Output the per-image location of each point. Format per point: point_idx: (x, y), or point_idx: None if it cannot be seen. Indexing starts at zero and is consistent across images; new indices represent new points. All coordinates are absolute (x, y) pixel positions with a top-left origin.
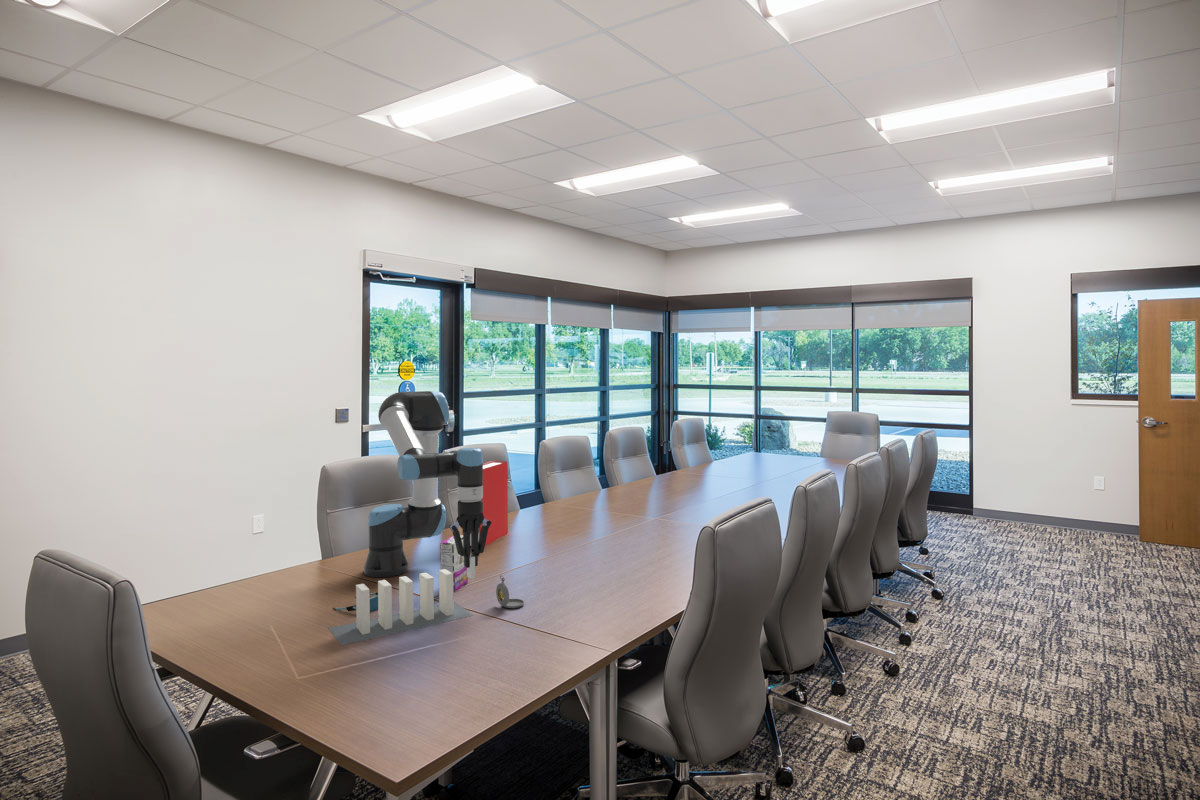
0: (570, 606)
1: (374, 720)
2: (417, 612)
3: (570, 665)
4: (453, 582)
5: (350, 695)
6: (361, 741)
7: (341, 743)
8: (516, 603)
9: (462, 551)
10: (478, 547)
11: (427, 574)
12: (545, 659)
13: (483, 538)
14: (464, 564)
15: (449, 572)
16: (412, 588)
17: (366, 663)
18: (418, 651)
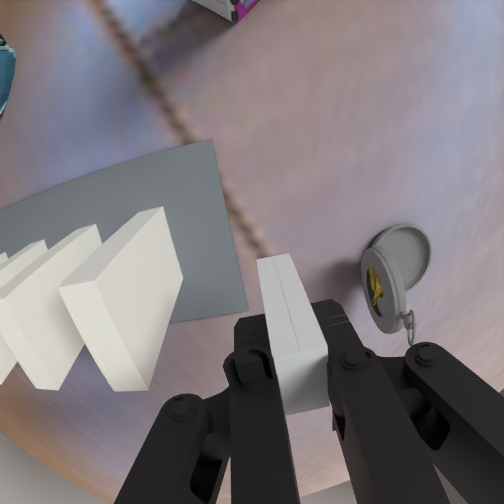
0: (482, 312)
1: (100, 486)
2: (69, 210)
3: (324, 483)
4: (231, 5)
5: (59, 454)
6: (100, 495)
7: (86, 490)
8: (411, 250)
9: (205, 478)
10: (427, 389)
11: (19, 336)
12: (306, 475)
13: (473, 497)
14: (235, 337)
15: (125, 359)
16: (12, 366)
17: (41, 409)
18: (107, 417)
